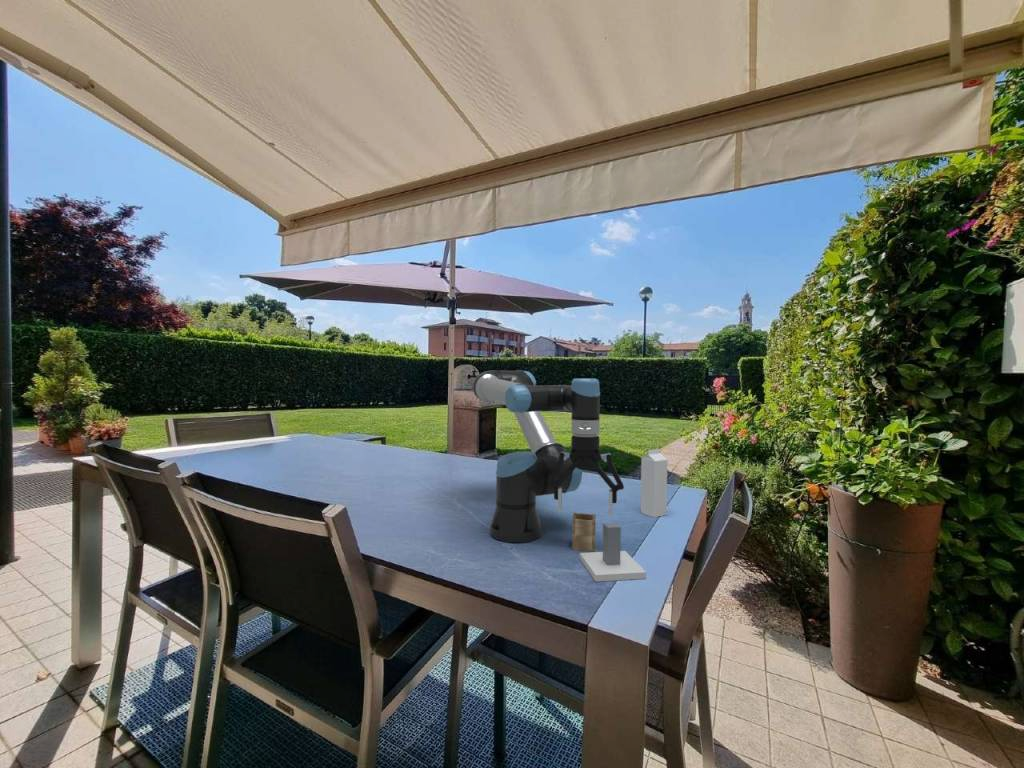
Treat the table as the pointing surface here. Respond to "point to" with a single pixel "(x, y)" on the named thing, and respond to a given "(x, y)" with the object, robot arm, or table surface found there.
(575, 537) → the collar
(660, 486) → the milk
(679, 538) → the table surface
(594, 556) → the post board
